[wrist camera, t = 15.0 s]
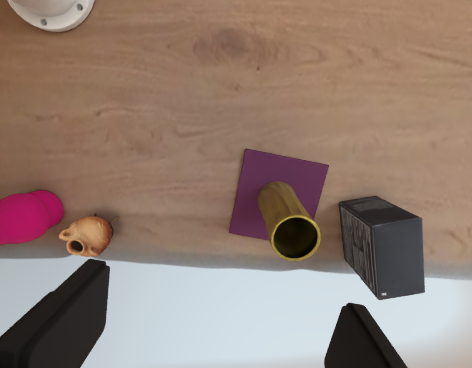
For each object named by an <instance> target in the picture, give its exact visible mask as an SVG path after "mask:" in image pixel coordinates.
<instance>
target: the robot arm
mask: <svg viewBox="0 0 472 368" xmlns="http://www.w3.org/2000/svg"><path fill="white" fill-rule="evenodd" d="M7 1H8V3H9V4H10V6H11V7H12V8H13V10H14V11H15V12H16V13H17V14H18V15H19V16H20V17H21V18H23V19H24V20H25V21H27V22H28V23H30V24H32V25H33V26H36V27H38V28H40V29H42V30H46V31H50V32H63V31H68V30H70V29H73V28H75V27H76V26H78V25H79V24H81V23H82V22H83V21H84V20H85V18H86V17H87V16H88V14H89V13H90V11H91V9H92V7H93V4H94V1H95V0H7ZM82 9H83V10H82ZM109 273H110V267H109V266H106V262H105V261H100V260H94V259H88V260H87V261H86V262H85V263H84V264H83V265H82V266H81V267H79V268H78V269H77V271H75V272H74V273H73V274H72V275H71V276H70V277H69V278H68V279H67V280H65V281H64V282H63V283H62V284H61V285H60V286H59V287H58V288H57V289H56V290H55V291H52V292H50V293H48V294H47V295H46V296H45V297H44V298H43V299H41V301H39V302H38V303H37V304H36V305H35V306H34V307H33V308H31V309H30V310H29V311H28V312H27V313H26V314H25V315H24V316H23V317H22V318H20V319H19V320H18V321H17V322H16V323H15V324H14V325H13V326H12V327H10V329H8V330H7V331H6V332H5V333H4V334H3V335H2V336H1V337H0V368H80V367H81V365H82V364H83V362H84V361H85V359H86V358H87V356H88V354H89V353H90V351H91V350H92V348H93V347H94V345H95V344H96V341H97V340H98V339H99V337H100V336H101V334H102V332H103V330H104V327H105V323H106V311H107V299H108V286H109ZM324 361H325V362H324V365H325V368H407V366H406V365H405V363H404V362H403V360H402V359H401V358H400V356H399V355H398V353H397V352H396V350H395V349H394V347H393V346H392V345H391V343H390V342H389V340H388V339H387V337H386V336H385V334H384V333H383V332H382V330H381V329H380V327H379V326H378V324H377V323H376V321H375V320H374V319H373V317H372V316H371V314H370V313H369V311H368V310H367V309H366V307H365V306H363V305H360V304H354V303H348V304H347V305H346V306H343V307H342V309H341V312H340V315H339V318H338V321H337V324H336V327H335V330H334V332H333V335H332V338H331V341H330V344H329V347H328V350H327V353H326V356H325V360H324Z"/></svg>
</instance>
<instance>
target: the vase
mask: <svg viewBox="0 0 472 368" xmlns="http://www.w3.org/2000/svg"><path fill="white" fill-rule="evenodd" d="M258 206H259V209H260V210H261V213H262V216H263V218H264V220H265V223H266V228H267V232H268V236H269V240H270V244H271V246H272V248H273V249H274V251H275V252H276V254H277V255H278V256H279V257H281V258H283V259H285V260H288V261H300V260H304V259H306V258H308V257H309V256H311V255H312V254H313V253H314V252H315V251H316V250H317V248H318V246H319V244H320V239H321V235H320V230H319V227H318V226H317V225H316V223H315V222H314V221H313V219H312V218H311V217H310V215H309V214H308V212H307V211H306V210H305V208H304V207H303V206H302V204H301V203H300V201H299V199H298V198H297V196H296V193H295V191H294V190H293V188H292V187H291V186H290V185H288V184H286V183H284V182H272V183H269V184H267V185H266V186H264V187H263V188H262V190H261V191H260V193H259V196H258Z"/></svg>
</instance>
